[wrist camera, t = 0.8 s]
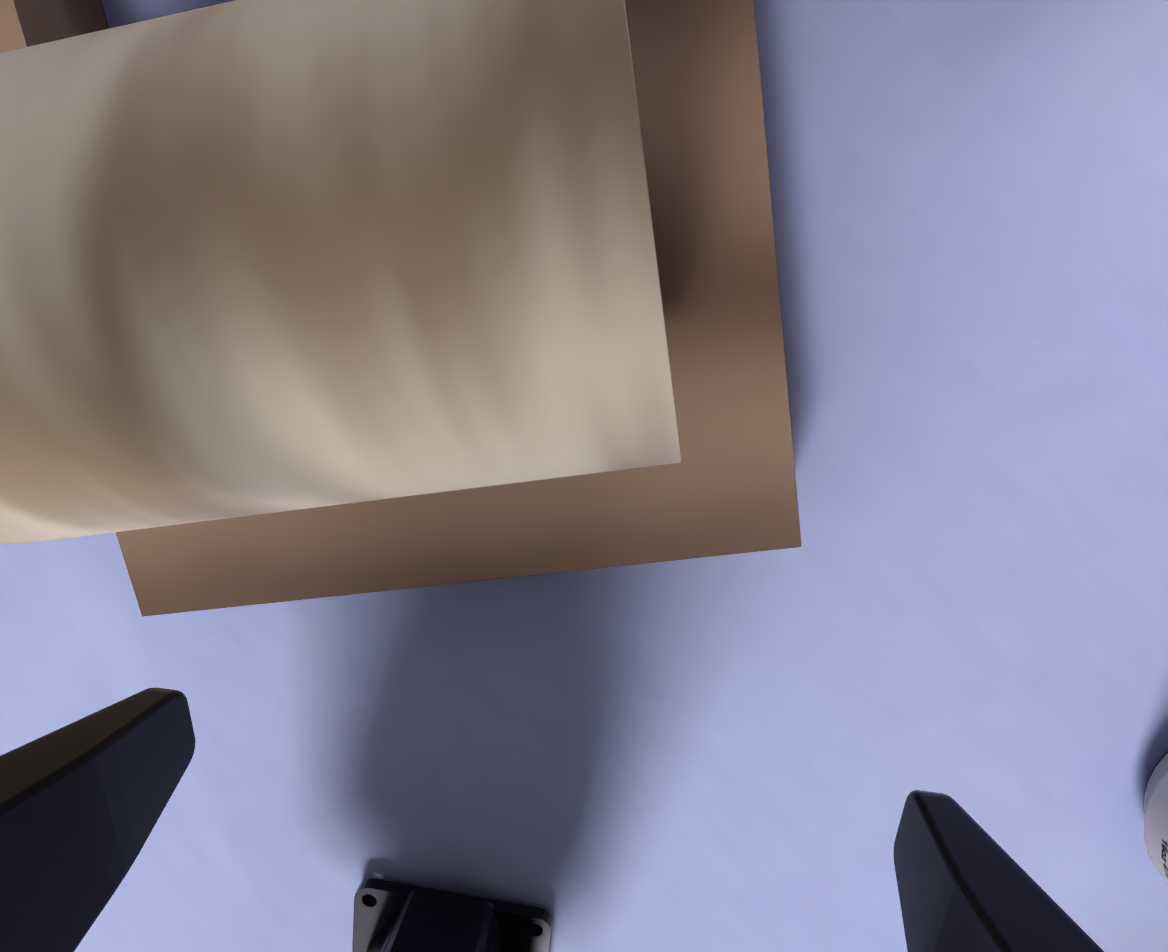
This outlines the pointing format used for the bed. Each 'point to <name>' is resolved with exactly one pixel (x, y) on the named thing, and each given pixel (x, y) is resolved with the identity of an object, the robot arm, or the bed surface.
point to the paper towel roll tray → (583, 502)
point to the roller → (322, 261)
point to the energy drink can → (1157, 817)
